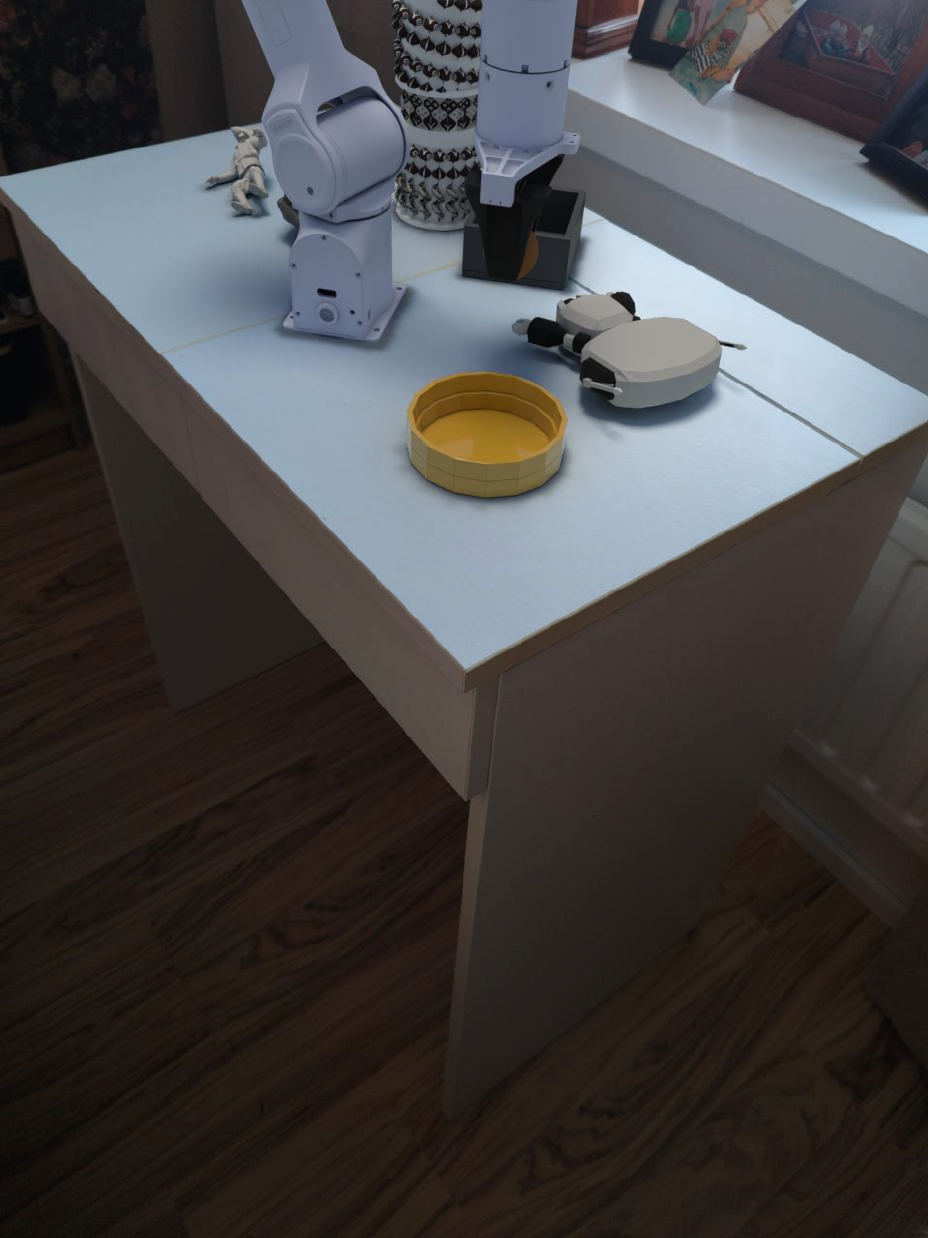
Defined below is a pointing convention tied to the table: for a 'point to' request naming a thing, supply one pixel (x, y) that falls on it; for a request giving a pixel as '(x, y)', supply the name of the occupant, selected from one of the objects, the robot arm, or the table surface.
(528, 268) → the teddy
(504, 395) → the bowl
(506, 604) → the table surface
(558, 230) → the bin
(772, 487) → the table surface
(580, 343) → the robot toy
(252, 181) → the soldier figure
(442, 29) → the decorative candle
